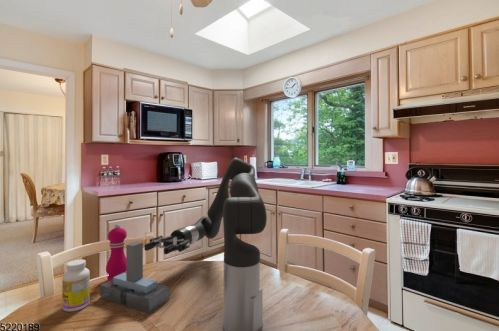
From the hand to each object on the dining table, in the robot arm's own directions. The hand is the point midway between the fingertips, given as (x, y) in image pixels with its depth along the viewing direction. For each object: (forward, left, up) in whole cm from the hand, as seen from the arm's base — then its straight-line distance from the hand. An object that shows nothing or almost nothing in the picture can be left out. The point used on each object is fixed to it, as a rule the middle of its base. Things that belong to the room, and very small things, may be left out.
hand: (154, 249), depth 87 cm
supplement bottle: (+12, +19, -13) cm, 25 cm away
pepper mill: (+16, +2, -13) cm, 20 cm away
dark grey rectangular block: (0, +9, -12) cm, 15 cm away
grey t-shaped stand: (0, +9, -12) cm, 15 cm away
